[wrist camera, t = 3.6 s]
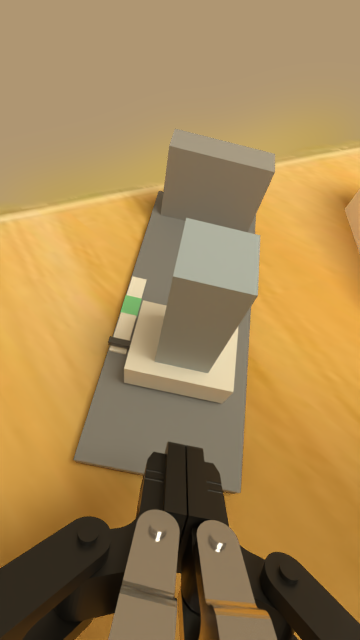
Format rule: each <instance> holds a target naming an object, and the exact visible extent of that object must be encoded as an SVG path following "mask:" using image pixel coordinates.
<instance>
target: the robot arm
mask: <svg viewBox="0 0 360 640" xmlns="http://www.w3.org/2000/svg"><path fill="white" fill-rule="evenodd" d="M221 484H222V483H221V478H220V473H219V471H218V470H217V468H216V467H215V465H214V464H213V463H209V462H205V461H204V452H203V448H199V447H194V446H189V445H184V444H179V443H174V442H169V441H168V442H167V445H166V449H165V453H164V454H163V453H158V452H153V453H152V454H151V455H150V457H149V458H148V459H147V463H146V467H145V471H144V476H143V480H142V484H141V488H140V494H139V501H138V506H137V513H136V519H135V520H134V521H133V522H132V523H131V524H129V525H127V526H125V527H122V528H116V529H110V528H109V526H108V525H107V524H106V523H105V522H104V521H103V520H101V519H99V518H96V517H82V518H79V519H76V520H75V521H73V522H71V523H70V524H68V525H67V526H65V527H64V528H62V529H61V530H59V531H57V532H56V533H54V534H53V535H51V536H50V537H48V538H47V539H45V540H44V541H42V542H40V543H39V544H37V545H36V546H34V547H33V548H31V549H30V550H28V551H27V552H25V553H23V554H22V555H20V556H19V557H17V558H16V559H14V560H13V561H11V562H10V563H8V564H6V565H5V566H3V567H2V568H0V640H74V639H75V638H76V637H77V636H78V635H79V634H80V633H81V632H82V631H83V630H84V629H85V628H86V627H87V626H88V625H89V624H90V623H91V621H92V620H93V618H96V617H100V616H104V615H108V614H113V613H115V614H114V618H113V622H112V626H111V630H110V634H109V638H108V640H175V629H176V616H177V598H174V594H175V581H176V573H181V586H180V590H179V593H178V619H179V636H180V640H298V639H297V638H296V637H295V635H294V632H296V633H297V634H298V635H299V637H300V638H301V639H302V640H360V624H359V623H358V622H357V621H356V620H355V619H354V618H353V617H352V616H351V615H350V614H349V613H348V612H347V611H346V610H345V609H344V608H343V607H342V606H341V605H340V604H339V603H338V602H337V600H336V599H335V598H334V597H333V596H332V595H331V594H330V593H329V592H328V591H327V590H326V589H325V588H324V587H323V586H322V585H321V584H320V583H319V582H318V581H317V580H316V579H315V578H314V577H313V576H312V575H311V574H310V573H309V572H308V571H307V570H306V569H305V568H304V567H303V566H302V565H301V564H300V563H299V562H298V561H297V560H295V559H294V558H292V557H291V556H289V555H287V554H284V553H281V552H274V553H271V554H269V555H268V556H267V558H266V560H264V559H262V558H260V557H258V556H256V555H254V554H252V553H250V552H249V551H247V550H245V549H244V548H243V547H242V546H240V545H239V541H238V539H237V536H236V535H235V533H234V532H233V531H232V530H231V528H229V524H228V518H227V512H226V507H225V501H224V495H223V489H222V486H221Z"/></svg>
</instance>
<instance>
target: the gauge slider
mask: <svg viewBox="0 0 360 640" xmlns="http://www.w3.org/2000/svg"><path fill="white" fill-rule="evenodd" d="M259 252H260V235H256V234H252V233H248V232H244V231H240V230H235V229H231V228H227V227H223V226H219V225H215V224H210V223H206V222H202V221H198V220H194V219H190V218H186V221H185V226H184V230H183V235H182V239H181V243H180V248H179V252H178V256H177V261H176V265H175V270H174V274H173V279H172V283H171V288H170V292H169V297H168V302H167V306H166V305H161V304H157V303H153V302H148V301H144V300H143V302H142V306H141V309H140V313H139V316H138V320H137V324H136V327H135V331H134V334H133V338H132V341H129V340H124V339H120V338H115V337H111V336H110V338H109V341H108V344H109V345H111V346H116V347H120V348H125V349H129V352H128V356H127V360H126V363H125V367H124V383H128V384H132V385H137V386H142V387H147V388H151V389H156V390H161V391H165V392H170V393H175V394H179V395H184V396H189V397H194V398H198V399H203V400H208V401H212V402H217V403H223V402H224V401H225V400H226V399H227V398H228V397H229V396H230V395H231V394H232V393H233V391H234V378H235V365H236V352H237V339H238V326H239V324H240V323H241V321H242V319H243V318H244V316H245V315H246V313H247V312H248V310H249V309H250V307H251V305H252V304H253V302H254V301H255V299H256V298H257V296H258V276H259Z"/></svg>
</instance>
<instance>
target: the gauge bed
mask: <svg viewBox="0 0 360 640" xmlns="http://www.w3.org/2000/svg"><path fill="white" fill-rule="evenodd" d="M274 173H275V154H273V153H269V152H265V151H261V150H257V149H253V148H249V147H245V146H241V145H238V144H233V143H230V142H226V141H222V140H217V139H214V138H210V137H206V136H202V135H198V134H194V133H190V132H186V131H182V130H178V129H175V131H174V133H173V136H172V140H171V142H170V146H169V153H168V161H167V169H166V177H165V184H164V192H162V191H159V192H158V195H157V198H156V202H155V205H154V208H153V211H152V214H151V217H150V220H149V224H148V227H147V230H146V233H145V236H144V239H143V242H142V246H141V249H140V252H139V255H138V258H137V261H136V264H135V268H134V271H133V274H132V277H131V280H130V283H129V286H128V290H127V293H126V296H125V299H124V302H123V305H122V308H121V312H120V315H119V318H118V321H117V324H116V327H115V330H114V334H113V337H115V338H120V339H124V340H129V341H132V338H133V334H134V331H135V327H136V324H137V320H138V316H139V313H140V309H141V306H142V302H143V300H144V301H148V302H153V303H157V304H161V305H166V306H167V302H168V297H169V292H170V288H171V283H172V279H173V274H174V270H175V265H176V261H177V256H178V252H179V248H180V243H181V239H182V235H183V230H184V226H185V221H186V218H190V219H194V220H198V221H202V222H206V223H210V224H215V225H219V226H223V227H227V228H231V229H235V230H240V231H244V232H248V233H252V234H255V220H256V213H257V210H258V208H259V206H260V204H261V202H262V199H263V197H264V195H265V193H266V191H267V188H268V186H269V184H270V182H271V179H272V177H273V175H274ZM250 312H251V307H250V309H249V310H248V312H247V313H246V315H245V316H244V318H243V319H242V321H241V323H240V324H239V326H238V339H237V352H236V365H235V378H234V391H233V393H232V394H231V395H230V396H229V397H228V398H227V399H226V400H225V401H224V402H223V403H217V402H212V401H208V400H203V399H198V398H194V397H189V396H184V395H179V394H175V393H170V392H165V391H161V390H156V389H151V388H147V387H142V386H137V385H132V384H128V383H124V367H125V363H126V360H127V356H128V352H129V349H125V348H120V347H116V346H111V345H110V346H109V349H108V352H107V356H106V359H105V362H104V365H103V368H102V371H101V374H100V378H99V381H98V384H97V387H96V390H95V393H94V396H93V400H92V403H91V406H90V409H89V412H88V415H87V418H86V422H85V425H84V428H83V431H82V434H81V437H80V440H79V444H78V447H77V450H76V453H75V456H74V459H73V460H74V461H76V462H78V463H83V464H88V465H93V466H98V467H103V468H108V469H113V470H118V471H124V472H129V473H134V474H139V475H144V471H145V467H146V463H147V459H148V458H149V457H150V455H151V454H152V453H153V452H158V453H163V454H164V453H165V449H166V445H167V442H168V441H169V442H174V443H179V444H184V445H189V446H194V447H199V448H203V452H204V461H205V462H209V463H213V464H214V465H215V467H216V468H217V470H218V471H219V473H220V478H221V483H222V484H221V486H222V489H223V491H224V492H229V493H234V494H235V493H241V476H242V458H243V440H244V421H245V403H246V385H247V367H248V348H249V330H250Z"/></svg>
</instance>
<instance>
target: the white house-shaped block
mask: <svg viewBox="0 0 360 640" xmlns="http://www.w3.org/2000/svg"><path fill="white" fill-rule="evenodd" d="M344 210H345V213H346V215H347V218H348V221H349V224H350V227H351V230H352V233H353V236H354V239H355V242H356V245H357V248H358V251H359V254H360V189H359V190H358V192H357V193H356V194H355V196H354V197H353V198H352V200H351V201H350V202H349V204H348V205H347V206H346V208H345V209H344Z"/></svg>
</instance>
